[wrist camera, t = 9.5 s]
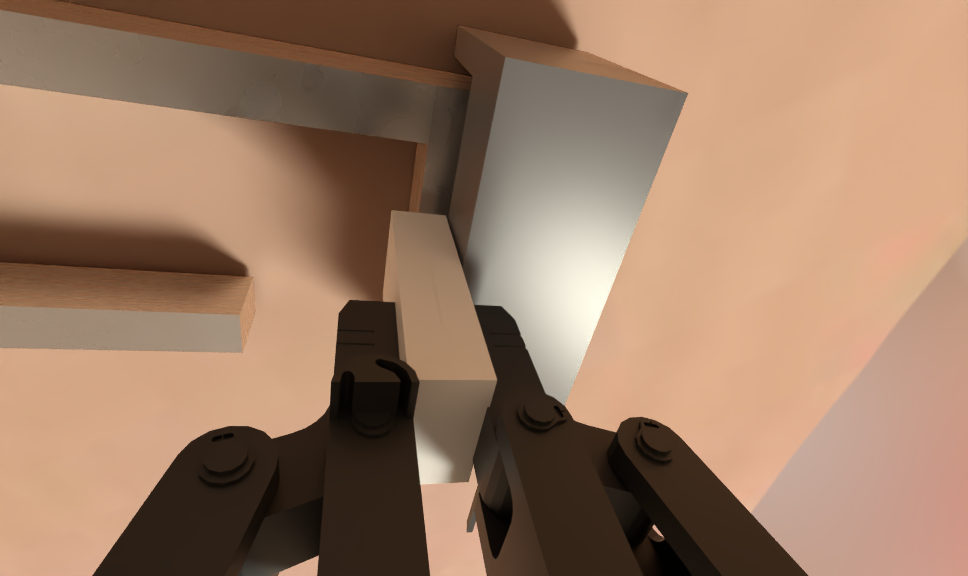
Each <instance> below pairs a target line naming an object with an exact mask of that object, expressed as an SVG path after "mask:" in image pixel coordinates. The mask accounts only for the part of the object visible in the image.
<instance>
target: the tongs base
mask: <svg viewBox="0 0 968 576" xmlns="http://www.w3.org/2000/svg"><path fill="white" fill-rule="evenodd" d="M471 83H472V76H467V75H461V74H456V73H450V72H445V71H440V70H434V69H429V68H423V67H418V66H412V65H407V64H401V63H396V62H390V61H385V60H379V59H374V58H368V57H363V56H357V55H352V54H346V53H341V52H335V51H330V50H324V49H319V48H313V47H308V46H303V45H297V44H292V43H286V42H281V41H275V40H270V39H264V38H259V37H253V36H248V35H242V34H237V33H231V32H226V31H220V30H215V29H209V28H204V27H198V26H193V25H187V24H182V23H176V22H171V21H166V20H160V19H155V18H149V17H144V16H138V15H133V14H127V13H122V12H116V11H111V10H105V9H100V8H94V7H89V6H83V5H78V4H72V3H67V2H61V1H56V0H0V84H4V85H11V86H19V87H26V88H33V89H40V90H47V91H54V92H61V93H69V94H76V95H83V96H90V97H97V98H104V99H111V100H119V101H126V102H133V103H140V104H147V105H154V106H161V107H169V108H176V109H183V110H190V111H197V112H204V113H211V114H219V115H226V116H233V117H240V118H247V119H254V120H262V121H269V122H276V123H283V124H290V125H297V126H304V127H312V128H319V129H326V130H333V131H340V132H347V133H354V134H362V135H369V136H376V137H383V138H390V139H397V140H404V141H412V142H417V149H416V157H415V165H414V172H413V180H412V188H411V196H410V204H409V212H416V213H426V214H436V215H446V218H447V221H448V216H449V210H450V204H451V199H452V193H453V187H454V181H455V175H456V170H457V164H458V158H459V152H460V147H461V141H462V135H463V129H464V123H465V118H466V112H467V106H468V100H469V95H470V89H471Z"/></svg>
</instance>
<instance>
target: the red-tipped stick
mask: <svg viewBox="0 0 968 576" xmlns="http://www.w3.org/2000/svg"><path fill="white" fill-rule="evenodd" d="M254 315H255V299H254V282H253V277H243V276H226V275H209V274H192V273H175V272H158V271H141V270H124V269H107V268H90V267H73V266H56V265H39V264H22V263H5V262H0V348H31V349H82V350H132V351H182V352H232V353H243V349H244V346H245V343H246V340H247V337H248V334H249V331H250V328H251V324H252V321H253V318H254Z"/></svg>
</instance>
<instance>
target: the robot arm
mask: <svg viewBox="0 0 968 576" xmlns="http://www.w3.org/2000/svg"><path fill="white" fill-rule="evenodd" d="M473 464H474V469H475V473H476V478H477V483H478V486H477V490H476V493H475V496H474V500H473V503H472V506H471V509H470V513H469V516H468V519H467V532H472V531H473V528H474V525H475V522H477V527H478V532H479V537H480V543H481V548H482V553H483V558H484V563H485V568H486V574H487V576H808V575H807V574H806V573H805V571H804V570H803V569H802V568H801V567H800V566H799V565H798V564H797V563H796V562H795V561H794V560H793V558H791V556H790V555H789V554H788V553H787V552H786V551H785V550H784V549H783V548H782V547H781V546H780V545H779V543H778V542H777V541H775V539H774V538H773V537H772V536H771V535H770V534H769V533H768V532H767V530H766V529H765V528H764V527H763V526H762V525H761V524H760V523H759V522H758V521H757V520H756V519H755V517H754V516H753V515H752V514H751V513H750V512H749V511H748V510H747V509H746V508H745V507H744V506H743V505H742V503H741V502H740V501H739V500H738V499H737V498H736V497H735V496H734V495H733V494H732V493H731V492H730V490H729V489H728V488H727V487H726V486H725V485H724V484H723V483H722V482H721V481H720V480H719V479H718V478H717V476H716V475H715V474H714V473H713V472H712V471H711V470H710V469H709V468H708V467H707V466H706V465H705V463H704V462H703V461H702V460H701V459H700V458H699V457H698V456H697V455H696V454H695V453H694V452H693V451H692V449H691V448H690V447H689V446H688V445H687V444H686V443H685V442H684V441H683V440H682V439H681V438H680V437H679V436H678V435H677V434H676V433H675V432H673V431H672V430H671V429H670V428H669V427H667V426H665V425H663V424H661V423H659V422H657V421H655V420H652V419H648V418H644V417H633V418H628V419H627V420H625V421H623V422H621V424H620V426H619V428H618V430H617V432H612V431H608V430H604V429H600V428H596V427H592V426H588V425H585V424H582V423H579V422H576V421H574V420H573V418H572V416H571V414H570V413H569V412H568V410H567V409H566V407H565V406H564V405H563V404H562V403H560V402H559V401H558V400H557V399H555V398H554V397H552V396H550V395H547V394H546V393H545V391H544V388H543V386H542V383H541V381H540V379H539V376H538V374H537V371H536V369H535V367H534V364H533V362H532V359H531V357H530V355H529V352H528V350H527V349H526V345H525V343H524V340H523V338H522V337H521V333H520V331H519V328H518V326H517V323H516V321H515V319H514V318H513V317H512V316H511V315H510V314H509V313H508V312H507V311H506V310H505V309H504V308H503V307H502V306H491V305H474V304H473V301H472V298H471V295H470V292H469V288H468V285H467V282H466V279H465V276H464V272H463V269H462V266H461V263H460V260H459V256H458V253H457V250H456V247H455V244H454V240H453V237H452V234H451V231H450V228H449V224H448V221H447V218H446V215H436V214H426V213H416V212H406V211H396V210H391V220H390V229H389V239H388V248H387V258H386V267H385V277H384V286H383V302H380V301H359V300H349V301H348V303H347V304H346V305H345V306H344V308H343V309H342V310H341V311H340V313H339V317H338V330H337V342H336V355H335V367H334V376H333V378H332V381H331V396H330V406H329V407H328V409H327V411H326V412H325V414H324V415H323V416H322V417H321V418H320V419H319V420H317V421H316V422H315V423H313V424H312V425H310V426H308V427H307V428H305V429H302V430H299V431H297V432H294V433H291V434H288V435H284V436H280V437H277V438H273V439H271V438H270V437H269V436H268V435H267V434H266V433H265V432H264V431H261V430H258V429H255V428H252V427H249V426H228V427H224V428H220V429H216V430H212V431H209V432H207V433H206V434H204V435H202V436H200V437H198V438H196V439H195V440H193V441H191V442H190V443H189V444H188V445H187V446H186V447H185V448H184V449H183V450H182V451H181V452H180V453H179V454H178V455H177V457H176V458H175V460H174V461H173V462H172V464H171V465H170V467H169V468H168V469H167V471H166V472H165V474H164V475H163V477H162V478H161V479H160V481H159V482H158V484H157V485H156V486H155V488H154V489H153V491H152V492H151V494H150V495H149V496H148V498H147V499H146V501H145V502H144V503H143V505H142V506H141V508H140V509H139V510H138V512H137V513H136V515H135V516H134V518H133V519H132V520H131V522H130V523H129V525H128V526H127V527H126V529H125V530H124V532H123V533H122V534H121V536H120V537H119V539H118V540H117V542H116V543H115V544H114V546H113V547H112V549H111V550H110V551H109V553H108V554H107V556H106V557H105V559H104V560H103V561H102V563H101V564H100V566H99V567H98V568H97V570H96V571H95V573H94V574H93V575H92V576H278V574H279V572H280V571H283V570H285V569H288V568H290V567H292V566H295V565H297V564H299V563H302V562H304V561H307V560H309V559H311V558H314V557H316V556H318V555H319V560H318V573H317V576H430V571H429V561H428V552H427V543H426V533H425V524H424V514H423V505H422V495H421V486H420V484H438V483H457V482H469V478H470V475H471V471H472V468H473ZM654 524H655V526H656V527H657V528H658V530H659V531H660V532H661V534H662V535H663V536H664V538H663V537H662V536H660V535H658V534H657V532H656V531H655V530H654V529H653V528H652V527H653V525H654Z"/></svg>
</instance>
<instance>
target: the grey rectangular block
mask: <svg viewBox="0 0 968 576" xmlns="http://www.w3.org/2000/svg"><path fill="white" fill-rule="evenodd" d="M454 57H455V58H456V59H457V60H458V61H459V62H460V63H461V64H462V65H463V66H464V67H465V69H466V70H467V71H468V72H469V73H470V74H471V75H472V76H473V77H472V83H471V89H470V95H469V100H468V106H467V112H466V118H465V123H464V129H463V135H462V141H461V147H460V152H459V158H458V164H457V170H456V175H455V181H454V187H453V193H452V199H451V204H450V210H449V216H448V224H449V228H450V231H451V234H452V237H453V240H454V244H455V247H456V250H457V253H458V256H459V260H460V263H461V266H462V269H463V272H464V276H465V279H466V282H467V285H468V288H469V292H470V295H471V298H472V301H473V304H474V305H491V306H502V307H503V308H504V309H505V310H506V311H507V312H508V313H509V314H510V315H511V316H512V317H513V318H514V319H515V321H516V323H517V326H518V328H519V331H520V333H521V337H522V338H523V340H524V343H525V345H526V349H527V350H528V352H529V355H530V357H531V359H532V362H533V364H534V367H535V369H536V371H537V374H538V376H539V379H540V381H541V383H542V386H543V388H544V391H545V393H546V394H547V395H550V396H552V397H554V398H555V399H557V400H558V401H559V402H560V403H562V404H563V405H564V406H565V403H566V401H567V398H568V396H569V393H570V391H571V388H572V386H573V383H574V381H575V378H576V376H577V373H578V370H579V368H580V365H581V363H582V360H583V358H584V355H585V353H586V350H587V348H588V345H589V343H590V340H591V338H592V335H593V333H594V330H595V327H596V325H597V322H598V320H599V317H600V315H601V312H602V310H603V307H604V305H605V302H606V300H607V297H608V295H609V292H610V290H611V287H612V284H613V282H614V279H615V277H616V274H617V272H618V269H619V267H620V264H621V262H622V259H623V257H624V254H625V252H626V249H627V246H628V244H629V241H630V239H631V236H632V234H633V231H634V229H635V226H636V224H637V221H638V219H639V216H640V214H641V211H642V209H643V206H644V203H645V201H646V198H647V196H648V193H649V191H650V188H651V186H652V183H653V181H654V178H655V176H656V173H657V171H658V168H659V166H660V163H661V160H662V158H663V155H664V153H665V150H666V148H667V145H668V143H669V140H670V138H671V135H672V133H673V130H674V128H675V125H676V123H677V120H678V117H679V115H680V112H681V110H682V107H683V105H684V102H685V100H686V97H687V95H688V93H686V92H684V91H681V90H679V89H676V88H674V87H671V86H669V85H667V84H664V83H662V82H659V81H657V80H654V79H652V78H649V77H647V76H644V75H642V74H639V73H637V72H635V71H632V70H630V69H627V68H625V67H622V66H620V65H617V64H615V63H612V62H610V61H607V60H605V59H602V58H600V57H598V56H595V55H593V54H590V53H588V52H584V51H579V50H574V49H570V48H565V47H560V46H555V45H551V44H546V43H541V42H536V41H532V40H527V39H522V38H517V37H513V36H508V35H503V34H498V33H494V32H489V31H484V30H479V29H475V28H470V27H465V26H460V25H458V30H457V37H456V44H455V50H454Z"/></svg>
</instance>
